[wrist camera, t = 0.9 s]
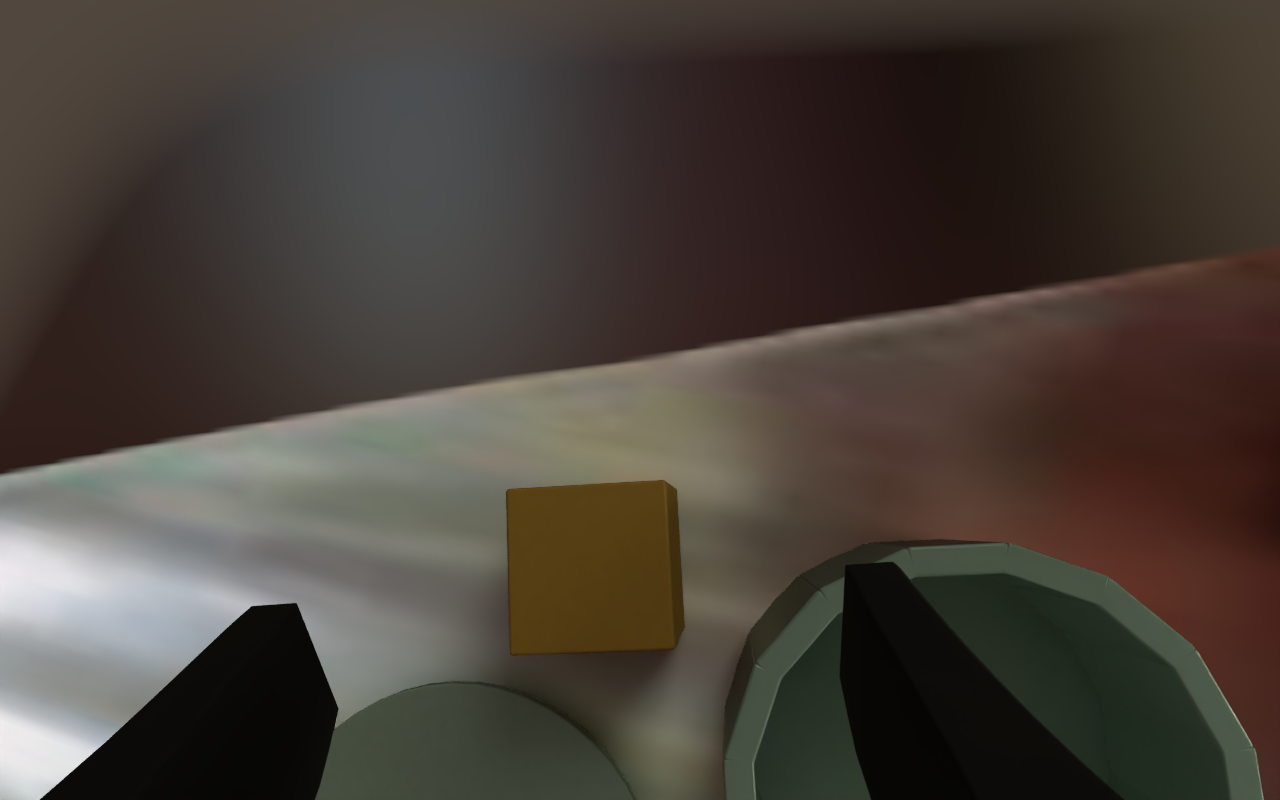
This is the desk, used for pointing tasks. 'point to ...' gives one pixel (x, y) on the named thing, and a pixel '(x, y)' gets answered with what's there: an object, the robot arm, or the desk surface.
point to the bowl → (1015, 653)
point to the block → (594, 568)
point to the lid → (467, 750)
